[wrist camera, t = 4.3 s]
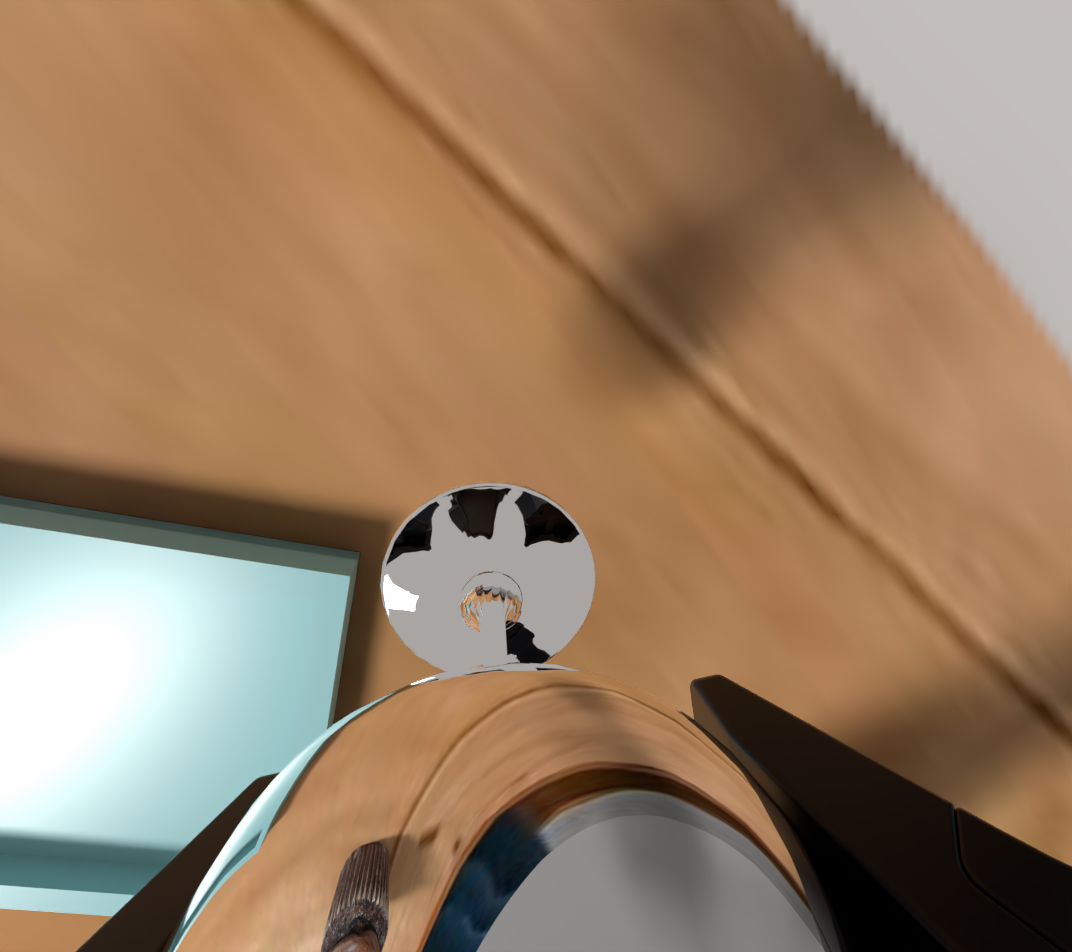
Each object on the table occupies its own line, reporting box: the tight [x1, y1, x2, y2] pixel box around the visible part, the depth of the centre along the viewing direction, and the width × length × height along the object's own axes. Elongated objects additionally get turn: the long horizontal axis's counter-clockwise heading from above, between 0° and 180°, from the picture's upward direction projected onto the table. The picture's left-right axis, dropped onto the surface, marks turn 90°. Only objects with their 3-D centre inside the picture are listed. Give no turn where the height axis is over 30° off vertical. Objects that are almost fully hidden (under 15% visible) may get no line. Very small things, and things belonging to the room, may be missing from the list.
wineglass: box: [162, 481, 871, 952], centre depth 8 cm, size 6×6×12 cm
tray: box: [0, 496, 360, 916], centre depth 21 cm, size 14×14×2 cm
